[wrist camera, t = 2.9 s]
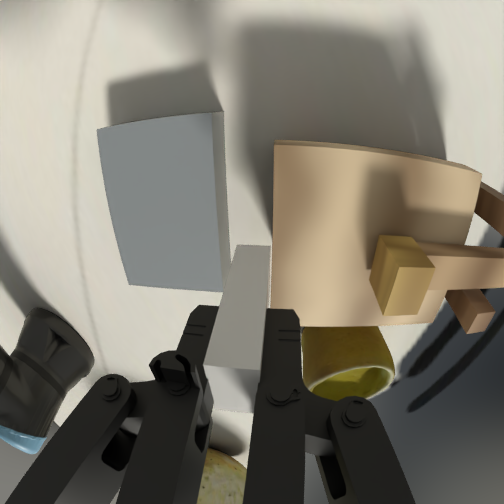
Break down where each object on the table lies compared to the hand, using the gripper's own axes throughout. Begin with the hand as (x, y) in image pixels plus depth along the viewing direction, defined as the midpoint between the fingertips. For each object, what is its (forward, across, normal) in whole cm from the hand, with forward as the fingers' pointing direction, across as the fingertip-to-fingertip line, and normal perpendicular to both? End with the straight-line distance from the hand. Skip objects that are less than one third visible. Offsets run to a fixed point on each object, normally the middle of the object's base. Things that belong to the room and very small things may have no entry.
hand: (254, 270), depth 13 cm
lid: (+4, +7, 0) cm, 8 cm away
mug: (+11, +9, -17) cm, 22 cm away
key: (+2, +12, 0) cm, 12 cm away
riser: (+11, -8, 0) cm, 13 cm away
